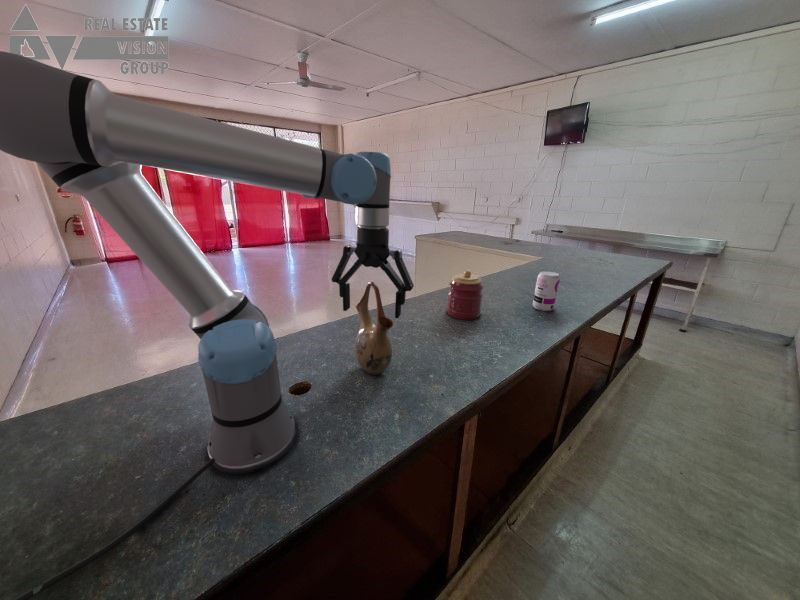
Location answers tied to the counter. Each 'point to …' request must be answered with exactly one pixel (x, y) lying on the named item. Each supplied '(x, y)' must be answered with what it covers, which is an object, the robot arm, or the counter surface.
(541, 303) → the supplement can
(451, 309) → the kitchen canister
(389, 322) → the ceramic vessel
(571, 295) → the counter surface
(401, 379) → the counter surface
